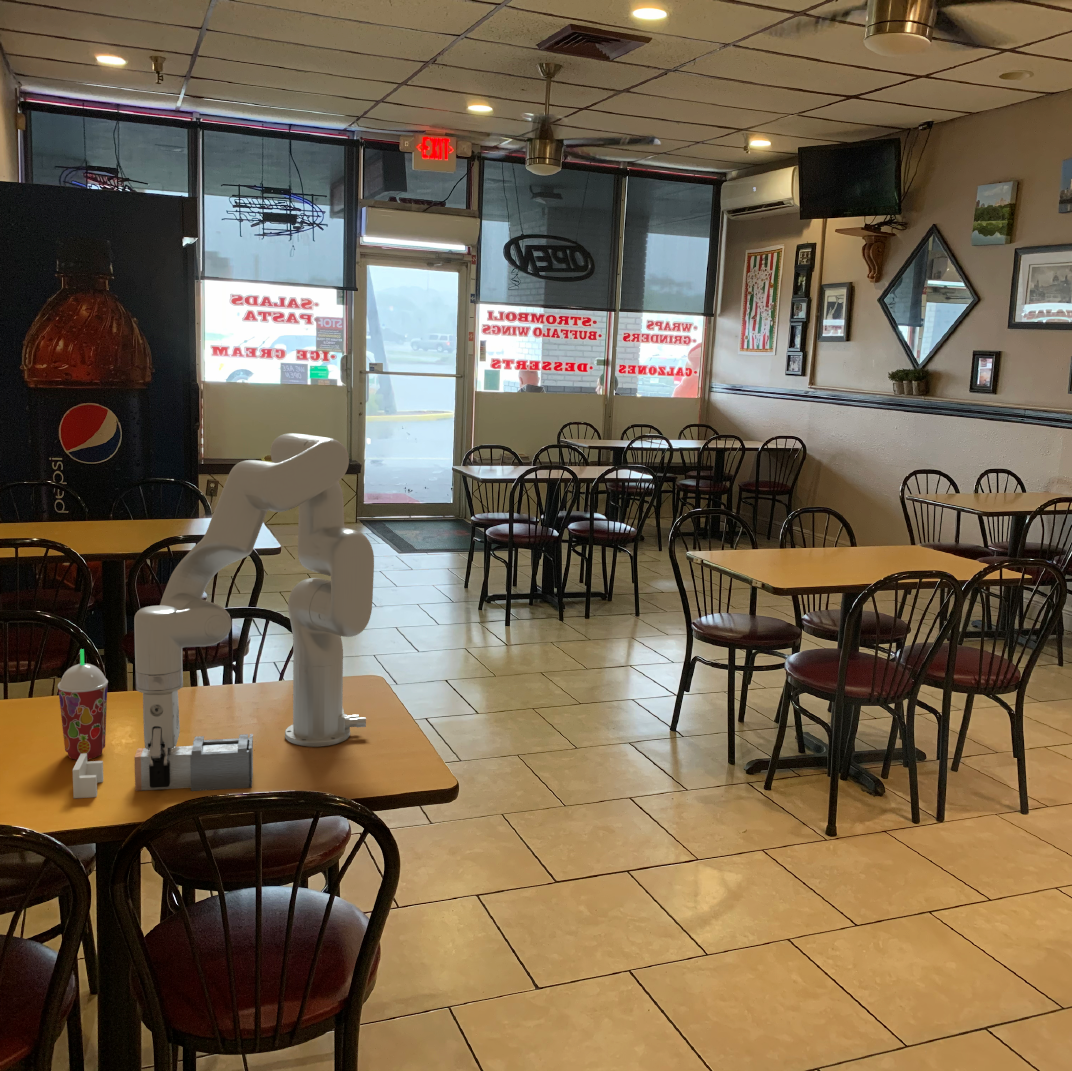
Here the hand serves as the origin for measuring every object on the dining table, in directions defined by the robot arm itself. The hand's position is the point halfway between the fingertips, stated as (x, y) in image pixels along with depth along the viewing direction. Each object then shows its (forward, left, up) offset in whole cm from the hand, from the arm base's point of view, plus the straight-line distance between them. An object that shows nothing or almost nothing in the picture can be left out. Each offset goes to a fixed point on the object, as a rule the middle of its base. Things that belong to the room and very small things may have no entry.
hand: (161, 779), depth 176 cm
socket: (+11, 0, -1) cm, 11 cm away
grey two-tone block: (-5, 0, -1) cm, 5 cm away
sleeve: (-10, 0, -1) cm, 10 cm away
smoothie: (+15, -16, -1) cm, 22 cm away
